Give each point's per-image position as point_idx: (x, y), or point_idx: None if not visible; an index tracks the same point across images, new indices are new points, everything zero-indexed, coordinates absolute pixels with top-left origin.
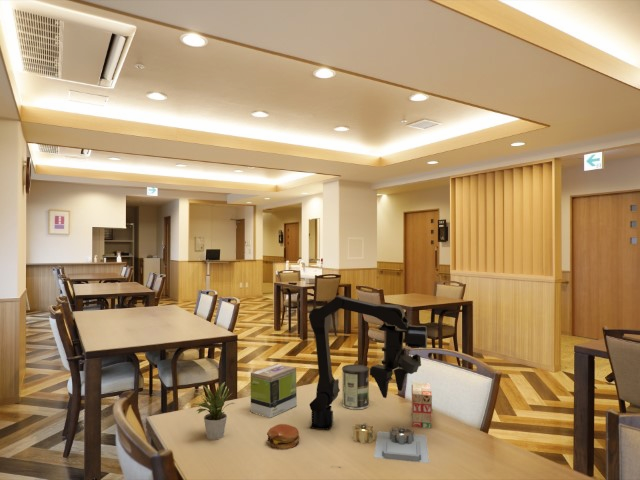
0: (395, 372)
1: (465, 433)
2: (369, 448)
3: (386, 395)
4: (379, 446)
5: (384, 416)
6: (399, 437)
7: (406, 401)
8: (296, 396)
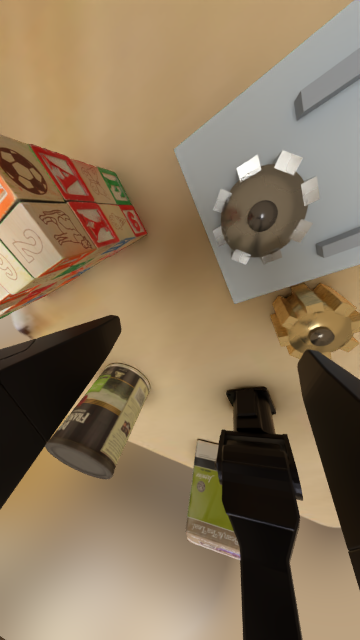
0: (32, 451)
1: (21, 22)
2: (338, 282)
3: (324, 359)
4: (356, 253)
5: (129, 325)
6: (318, 197)
7: (36, 316)
8: (195, 456)
